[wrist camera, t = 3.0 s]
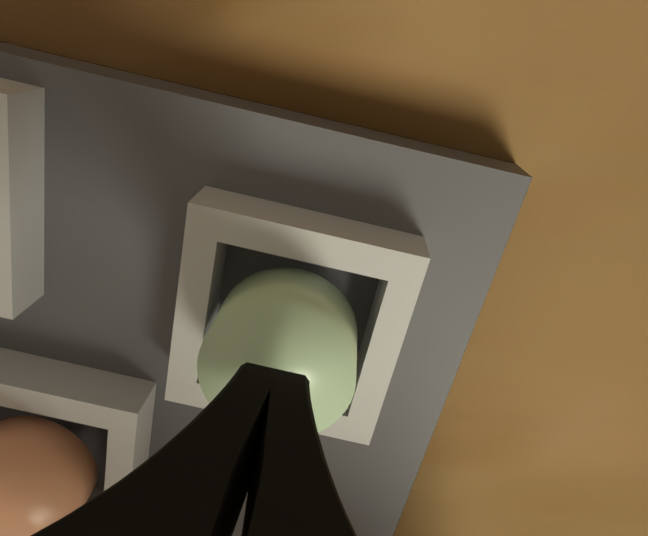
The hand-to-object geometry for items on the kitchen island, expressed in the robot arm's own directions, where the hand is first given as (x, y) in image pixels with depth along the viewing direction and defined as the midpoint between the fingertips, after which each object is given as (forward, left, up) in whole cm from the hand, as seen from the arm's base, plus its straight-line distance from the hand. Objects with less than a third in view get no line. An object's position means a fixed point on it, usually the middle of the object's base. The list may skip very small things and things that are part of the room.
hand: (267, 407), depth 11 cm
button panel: (-3, +4, -6) cm, 8 cm away
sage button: (0, 0, -3) cm, 3 cm away
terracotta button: (-7, +6, -3) cm, 10 cm away
